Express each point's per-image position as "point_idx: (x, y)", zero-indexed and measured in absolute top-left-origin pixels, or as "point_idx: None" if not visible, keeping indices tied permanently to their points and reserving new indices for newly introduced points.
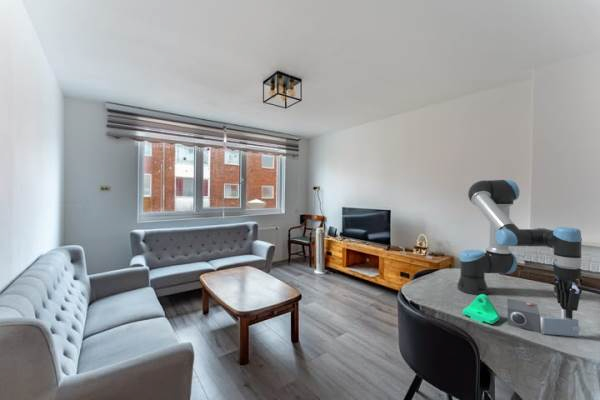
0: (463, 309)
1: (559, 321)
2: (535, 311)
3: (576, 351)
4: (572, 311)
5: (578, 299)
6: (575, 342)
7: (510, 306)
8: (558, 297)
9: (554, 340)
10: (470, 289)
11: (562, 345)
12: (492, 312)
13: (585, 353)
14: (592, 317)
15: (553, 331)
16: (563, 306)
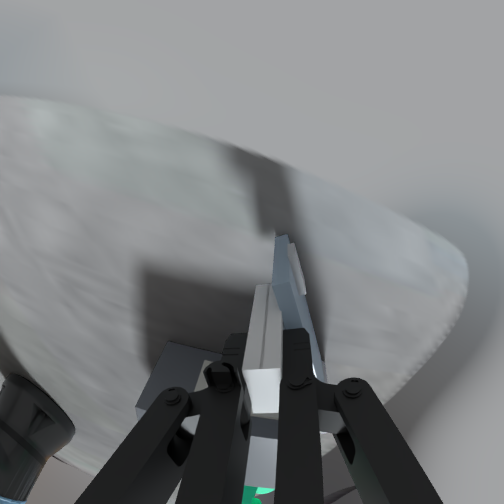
0: (256, 492)
1: (315, 365)
2: (274, 446)
3: (437, 295)
4: (280, 357)
5: (436, 500)
6: (358, 269)
7: (254, 483)
8: (181, 470)
9: (366, 340)
10: (66, 436)
11: (402, 326)
12: None
13: (445, 269)
14: (8, 101)
15: (316, 344)
16: (250, 414)
